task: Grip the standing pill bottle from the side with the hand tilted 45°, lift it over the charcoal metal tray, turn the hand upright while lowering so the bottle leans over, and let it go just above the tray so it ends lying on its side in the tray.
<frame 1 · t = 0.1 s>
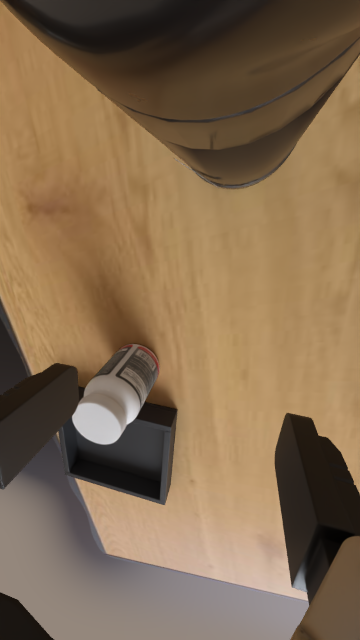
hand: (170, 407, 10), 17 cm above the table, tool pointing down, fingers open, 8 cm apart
pill bottle: (139, 362, 31), on the table
tray: (121, 436, 36), on the table
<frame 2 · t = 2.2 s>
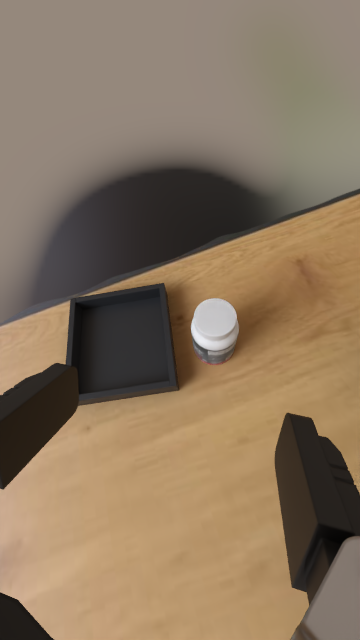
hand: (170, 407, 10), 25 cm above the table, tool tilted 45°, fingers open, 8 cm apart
pill bottle: (213, 347, 37), on the table
tray: (124, 345, 38), on the table
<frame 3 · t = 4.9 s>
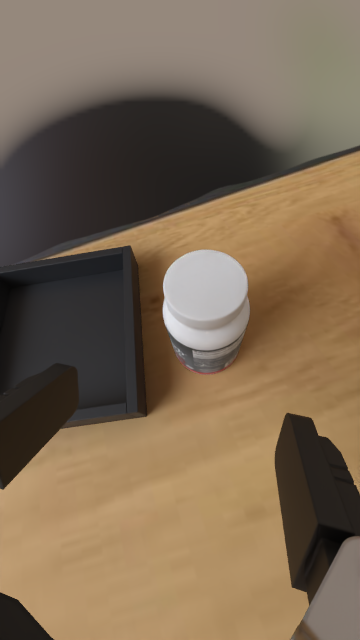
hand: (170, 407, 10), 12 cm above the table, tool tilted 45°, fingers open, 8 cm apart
pill bottle: (206, 345, 23), on the table
tray: (66, 341, 24), on the table
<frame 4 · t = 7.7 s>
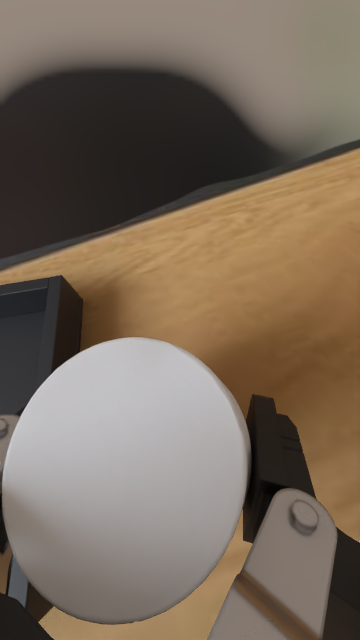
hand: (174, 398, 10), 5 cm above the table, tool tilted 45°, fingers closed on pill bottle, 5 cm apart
pill bottle: (177, 445, 14), on the table, touching gripper
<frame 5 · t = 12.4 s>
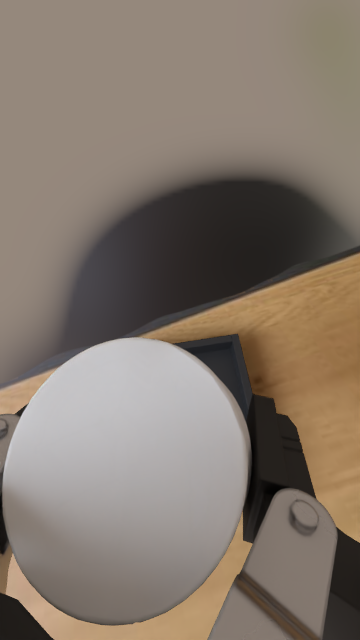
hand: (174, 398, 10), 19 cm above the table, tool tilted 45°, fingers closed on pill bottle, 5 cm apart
pill bottle: (178, 445, 14), point 14 cm above the table, touching gripper
tray: (184, 419, 28), on the table
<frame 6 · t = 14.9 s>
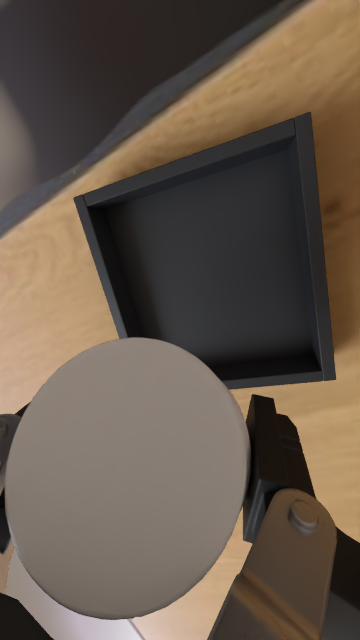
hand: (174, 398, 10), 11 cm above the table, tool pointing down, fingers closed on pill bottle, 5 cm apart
pill bottle: (178, 445, 14), point 9 cm above the table, touching gripper
tray: (209, 281, 20), on the table
when the fingers open (6 cm above the table, at t = 17.4 s): pill bottle moves 2 cm, resting on tray.
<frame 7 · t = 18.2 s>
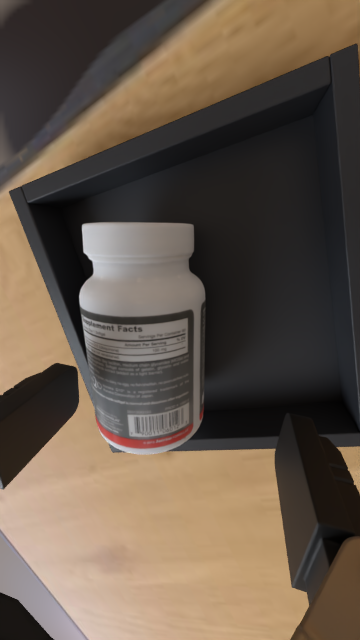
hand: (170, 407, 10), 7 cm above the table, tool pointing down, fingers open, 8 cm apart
pill bottle: (151, 420, 14), point 3 cm above the table, touching tray
tray: (202, 301, 15), on the table
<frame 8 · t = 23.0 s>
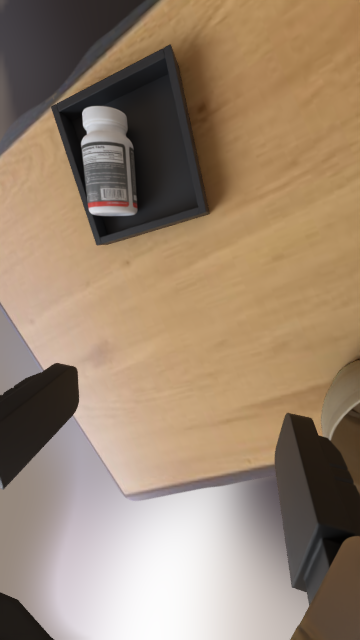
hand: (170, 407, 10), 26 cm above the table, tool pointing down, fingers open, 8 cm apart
pill bottle: (114, 216, 31), point 3 cm above the table, touching tray
tray: (138, 165, 31), on the table
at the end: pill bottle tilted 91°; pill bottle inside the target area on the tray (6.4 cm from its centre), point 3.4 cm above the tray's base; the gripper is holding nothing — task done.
